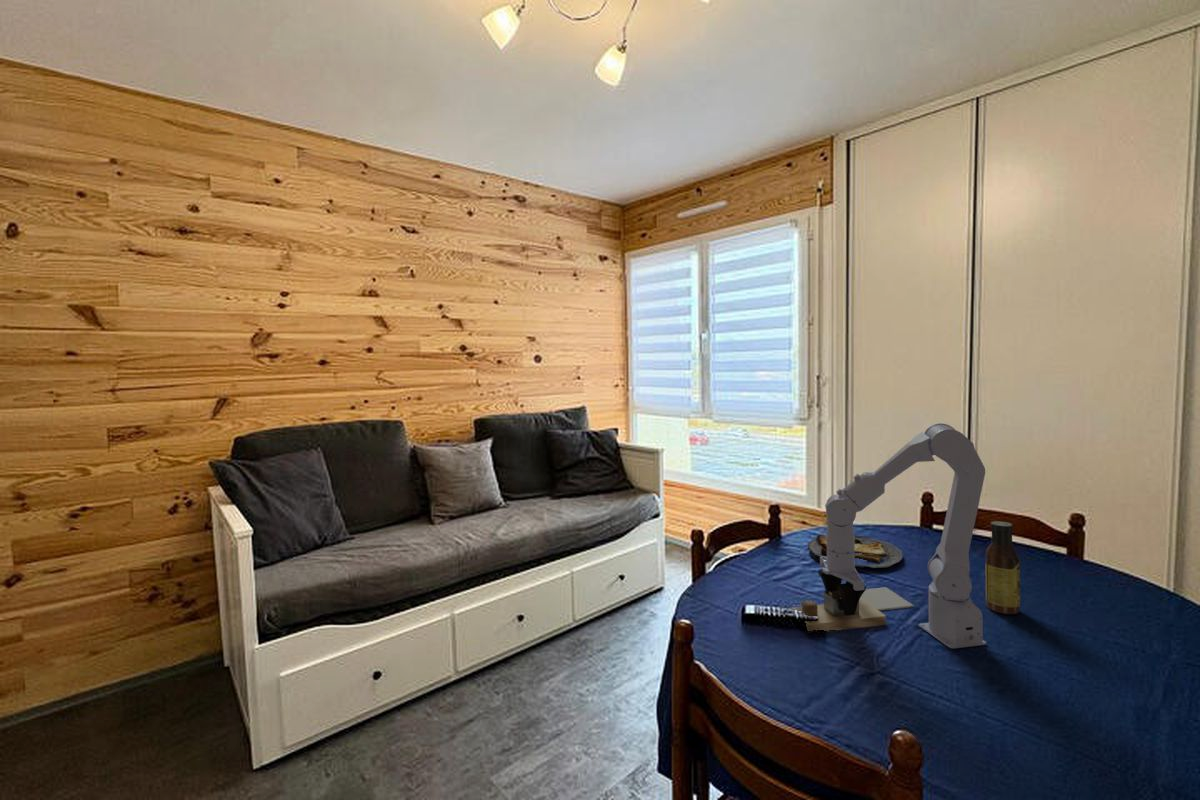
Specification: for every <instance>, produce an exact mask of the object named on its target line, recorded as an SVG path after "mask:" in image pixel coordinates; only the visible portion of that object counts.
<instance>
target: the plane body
mask: <svg viewBox="0 0 1200 800" xmlns="http://www.w3.org/2000/svg"><path fill="white" fill-rule="evenodd" d="M791 609H792V610H797V611H802V613H804V614H805V615H808V616H818V620H817V621H811V622H810V621H805V623H806V627H807V630H808V631H813V630H816V631H817V630H824V631H827V632H830V631H829V630H836V631H841V630H842V631H844V630H850V629H859V628H870V627H871V628H872V627H877V626H886V625H887V615H885V614H884V613H883V612H882V611H879V610H877V609H876V608H875V607H873V606H872V605H871V604H869V603H868V602H866V601H865V600H859V614H855V615H849V616H837V617H833V616H832V615H831V614H830V613H829V612H828V611H826V610H825V609H824V603H821V604H818V603H817V602H815V601H813V600H804V601H801V605H800V606H794V607H790V610H791ZM843 629H844V630H843Z"/></svg>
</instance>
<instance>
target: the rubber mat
mask: <svg viewBox="0 0 1200 800" xmlns="http://www.w3.org/2000/svg"><path fill="white" fill-rule="evenodd" d="M859 600H865V601H866V602H868V603H869V604H871V605H872V606H873V607H875V608H876V609H877V610H879V611H880V612H882V611H889V610H899V609H906V608H907V609H909V608H914V604H912V603H911V602H909V601H908V600H906V599H905V598H903V597H901V596H900V595H899V594H897V593H895V592H894V591H893V590H891V589H889V588H888V587H887V586H884V587H883V586H882V587H877V588H876V587H875V588H874V587H873V588H866V590H865V591H864V593H863V594H862V596H861V597H860V599H859Z"/></svg>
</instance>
